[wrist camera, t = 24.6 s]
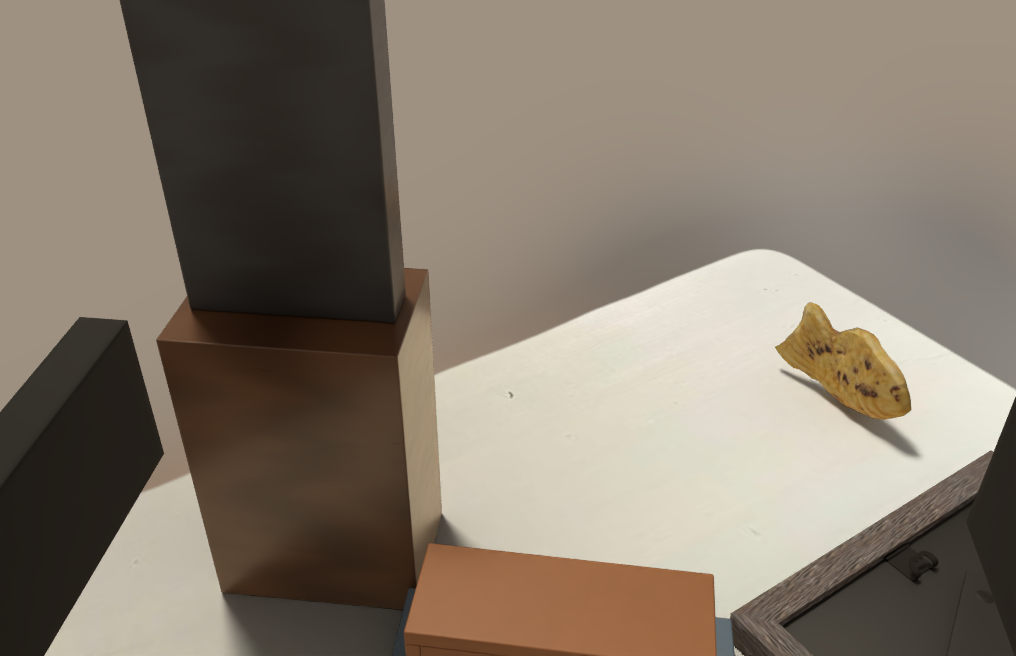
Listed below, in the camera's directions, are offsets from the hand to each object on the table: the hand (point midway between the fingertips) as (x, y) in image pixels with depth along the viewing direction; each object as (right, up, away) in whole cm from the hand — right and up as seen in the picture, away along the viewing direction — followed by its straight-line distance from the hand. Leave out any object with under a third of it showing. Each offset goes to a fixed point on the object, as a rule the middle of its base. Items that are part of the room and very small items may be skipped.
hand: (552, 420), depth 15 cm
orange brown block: (+1, -15, +22) cm, 26 cm away
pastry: (+18, -3, +40) cm, 44 cm away
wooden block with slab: (-9, -9, +31) cm, 33 cm away
